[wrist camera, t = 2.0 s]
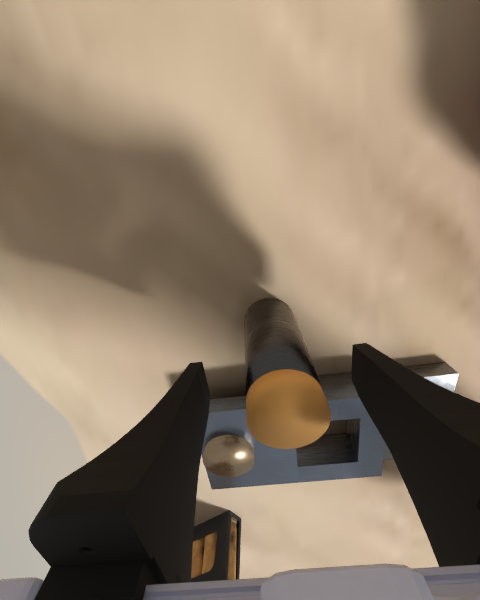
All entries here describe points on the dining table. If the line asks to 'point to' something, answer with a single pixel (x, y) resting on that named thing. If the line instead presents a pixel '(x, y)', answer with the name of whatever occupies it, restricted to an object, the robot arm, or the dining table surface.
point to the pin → (281, 380)
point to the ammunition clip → (216, 549)
